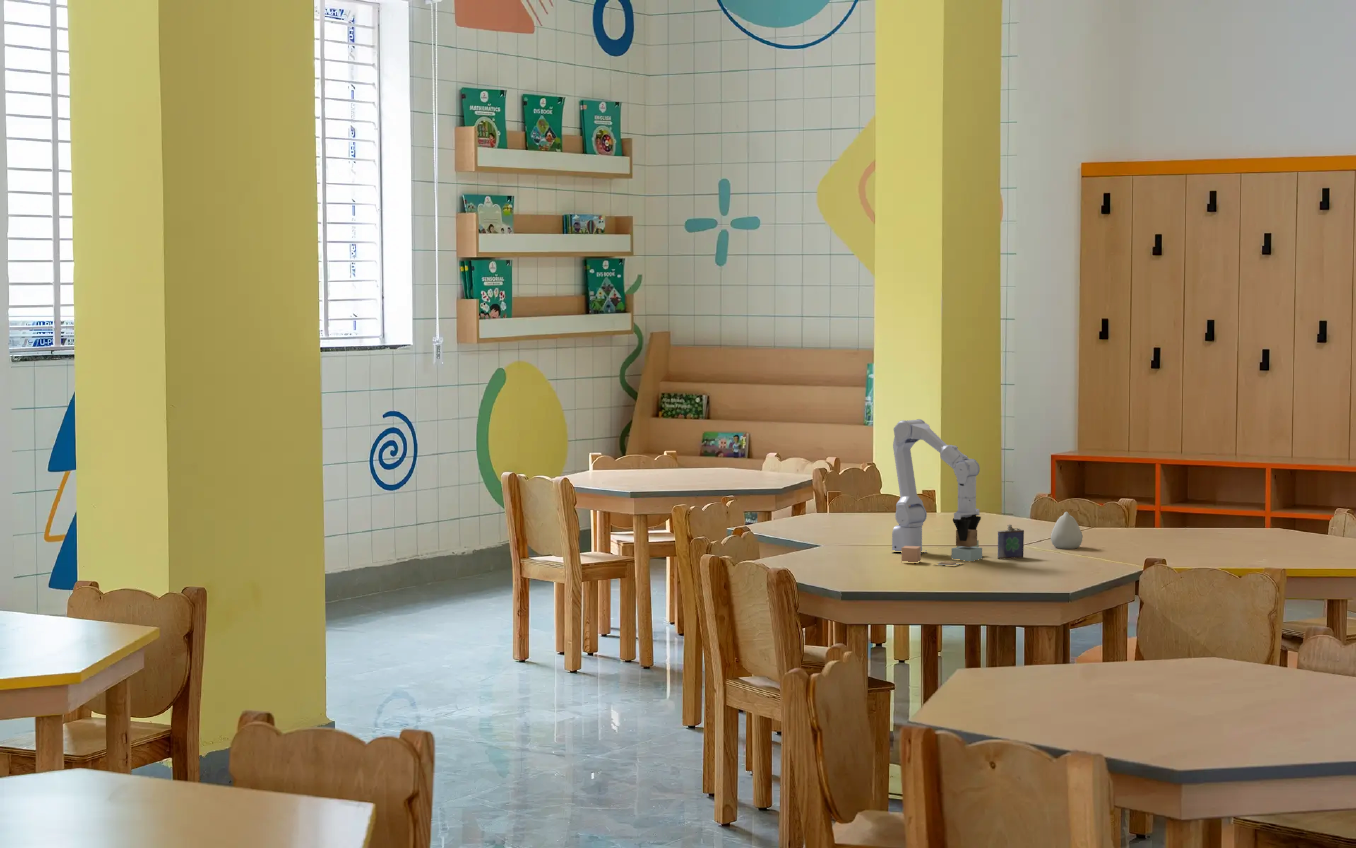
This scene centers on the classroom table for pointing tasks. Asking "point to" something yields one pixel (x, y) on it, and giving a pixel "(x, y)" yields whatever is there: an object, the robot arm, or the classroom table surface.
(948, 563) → the grey square frame
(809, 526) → the classroom table surface
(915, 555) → the terracotta cube
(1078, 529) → the grey teardrop shape
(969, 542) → the walnut cube
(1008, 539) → the flask
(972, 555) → the base block
